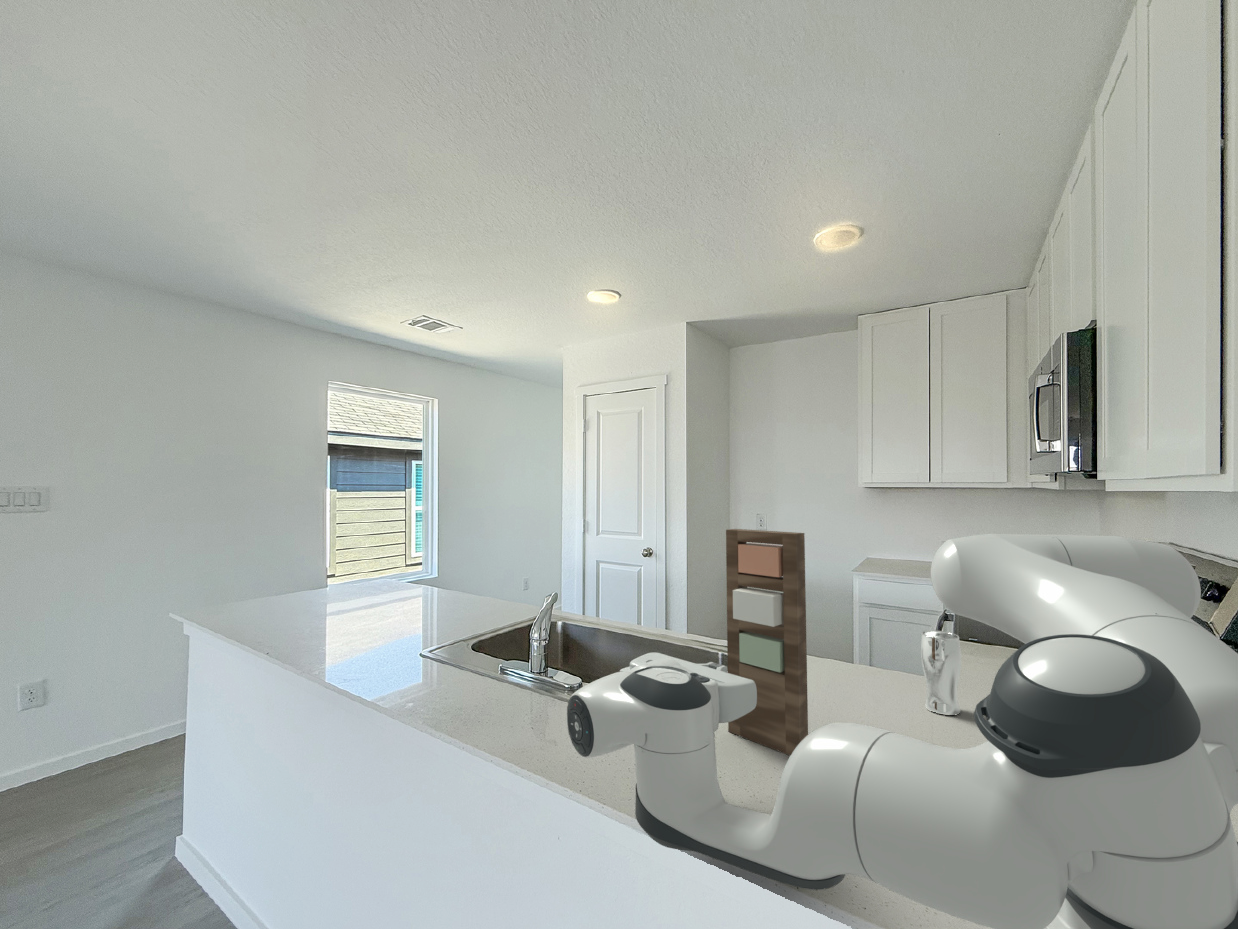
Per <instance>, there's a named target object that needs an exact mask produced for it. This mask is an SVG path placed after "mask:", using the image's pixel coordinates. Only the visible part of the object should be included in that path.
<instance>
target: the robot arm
mask: <svg viewBox="0 0 1238 929" xmlns="http://www.w3.org/2000/svg"><path fill="white" fill-rule="evenodd" d="M930 580H931V585H932V588H933V590H934V593H935V594H936V596H937V598H938V599H939V601H940V603H941V604H942V605H943V606H944V607H945V608H946V609H947V610H949V612H950V613H951V614H954V615H957V616H961V617H964V618H967V619H969V620H973V621H977V622H980V623H982V624H984V625H987V626H989V627H992V628H994V629H997V630H999V631H1000V632H1003V633H1005V634H1007V635H1009V636H1010V637H1013V638H1014V639H1016V640H1018V641H1019V642H1021V643H1024V644H1023V645H1021V646H1020V647H1019V648H1018V649H1017V650H1015V651H1014V652H1013V653H1012V654H1011V655H1010V656H1009V657H1008V658H1007V659H1005V661H1004V662H1003V663H1002V664H1001V665H1000V668H999V669H998V670H997V672H996V674H995V676H994V679H993V683H992V686H991V688H990V689H991V690H990V692H989V694H988V695H987V696H986V697H984V698H983V699H982V700H980V701H979V702H978V703H977V704H976V706H975V708H974V713H973V718H974V721H975V724H976V727H977V728H978V730H979V732H980V733H981V734H982V735H983V737H984V738H985V739H986V741H985V742H983V743H981V744H978V745H975V746H972V747H968V748H965V747H964V748H955V747H949V746H943V745H937V744H934V743H931V742H927V741H924V740H923V739H922V740H921V739H918V738H915V737H911V736H909V735H905V734H903V733H899V732H894V731H891V730H887V729H883V728H880V727H875V726H871V725H868V724H867V725H866V724H862V723H855V722H846V721H845V722H844V721H843V722H842V721H841V722H840V721H839V722H838V721H836V722H830V723H827V724H825V725H822V726H819V727H818V728H817V727H816V728H815V729H814V730H813V731H811V732H810V733H809V732H808V735H807V736H806V737H805V738H804V739H803V740H802V741H801V742H800V743H799V744H798V745H797V747H796V748H795V749H794V751H793V752H792V754H791V756H790V755H789V758H788V759H787V761H786V763H785V766H784V768H783V770H782V773H781V776H780V780H779V784H778V790H777V793H776V799H775V802H774V807H773V810H772V812H771V814H769V813H765V812H760V811H757V810H753V809H749V808H746V807H740V806H737V805H733V804H729V803H728V802H727V801H726V799H725V797H724V795H723V793H722V790H721V786H720V783H719V779H718V778H719V777H718V769H717V768H718V766H717V756H716V755H717V754H716V743H715V738H716V737H715V732H717V731H718V729H719V724H728V722H731V721H734V720H736V719H738V718H740V717H742V716H744V715H746V714H747V713H749V712H751V711H752V710H754V709H755V707H756V704H757V688H756V684H755V682H754V681H753V680H751V679H747V678H744V677H740V676H737V675H733V674H730V673H728V665H724V664H721V663H720V664H719V663H716V662H713V661H709V662H707V663H695V662H691V661H689V660H685V659H681V658H678V657H673V656H670V655H668V654H663V653H661V652H648V653H645V654H642V655H640V656H638V657H636V658H634V659H632V660H631V661H629V666H626V667H624V668H621V669H620V670H619V671H616V672H614V673H611V674H608V675H606V676H603V677H600V678H599V679H595V680H593V681H592V682H590V683H588V684H585V685H584V686H582V687H580V688H578V690H576V691H575V692H574V693H573V694H571V696H570V698H569V700H568V701H567V706H566V722H567V723H566V724H567V732H568V736H569V738H570V742H571V744H572V746H573V747H574V749H575V751H576V752H577V753H578V755H579V756H581V757H583V758H588V759H590V758H596V757H601V756H603V755H608V754H611V753H613V752H616V751H619V750H621V749H622V750H623V749H624V748H627V747H630V746H631V745H633V748H634V749H633V750H634V766H635V779H636V780H635V781H636V782H635V802H634V803H635V810H634V811H635V813H634V814H635V820H636V821H637V823H638V825H639V826H640V828H641V829H642V830H643V831H644V833H645V834H647V835H648V837H650V838H651V839H652V840H653V841H655V842H656V843H657V844H659V845H660V846H663V847H665V848H669V849H673V850H678V851H679V850H680V851H687V852H693V853H698V854H701V855H704V856H706V857H710V858H713V859H714V860H717V861H719V862H723V863H725V864H727V865H731V866H734V867H737V868H738V869H739V868H740V869H742V870H744V871H747V872H750V873H753V874H756V875H758V876H761V877H764V878H766V879H768V880H769V879H770V880H772V881H776V882H778V883H782V884H783V885H784V884H786V885H788V886H793V887H795V888H801V889H807V890H813V891H814V890H817V891H818V890H826V889H830V888H834V887H835V886H837V885H838V884H840V883H841V882H842V881H843V880H844V879H845V876H846V875H851V876H857V877H860V878H863V879H866V880H869V881H870V882H873V883H875V884H878V885H879V886H881V887H884V888H885V889H887V890H889V891H892V892H893V893H896V894H898V895H900V896H902V897H904V898H906V899H909V900H911V901H914V902H916V903H918V904H921V905H923V906H926V907H928V908H931V909H933V910H936V911H939V912H941V913H944V914H947V915H950V916H952V917H956V918H957V919H958V918H959V919H960V920H964V921H968V922H970V923H972V924H973V923H974V924H977V925H981V926H984V927H988V928H991V929H1238V840H1237V836H1236V832H1235V830H1234V826H1233V822H1232V818H1231V812H1232V809H1233V808H1234V807H1235V806H1236V805H1238V652H1236V651H1235V650H1234V649H1233V648H1231V647H1230V646H1229V645H1228V644H1226V643H1225V642H1224V641H1222V640H1221V639H1220V638H1218V637H1217V636H1216V635H1214V634H1213V633H1212V632H1211V631H1209V630H1208V629H1207V628H1204V627H1203V626H1202V625H1201V624H1199V623H1198V622H1196V621H1195V620H1193V619H1192V617H1193V616H1194V615H1195V613H1196V611H1197V610H1198V607H1199V605H1200V602H1201V598H1202V592H1201V591H1202V589H1201V583H1200V579H1199V576H1198V575H1197V573H1196V571H1195V568H1194V567H1193V565H1192V564H1191V563H1190V561H1188V559H1187V558H1186V557H1185V556H1184V555H1183V554H1181V553H1180V551H1178V550H1177V549H1176V548H1174V547H1172V546H1170V545H1169V544H1165V543H1160V542H1159V543H1158V542H1155V541H1149V540H1143V539H1139V538H1133V537H1132V538H1131V537H1127V536H1120V535H1098V534H1097V535H1096V534H1093V535H1092V534H1091V535H1089V534H1032V533H1029V534H1026V533H994V532H993V533H990V532H989V533H981V534H973V535H967V536H962V537H961V536H960V537H955V538H950V539H949V538H948V539H947V540H946V541H944V542H943V543H942V545H940V546H939V547H938V549H937V550H936V552H935V554H934V555H933V558H932V560H931V565H930ZM984 716H985V717H984Z"/></svg>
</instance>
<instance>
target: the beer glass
mask: <svg viewBox="0 0 1238 929" xmlns="http://www.w3.org/2000/svg"><path fill="white" fill-rule="evenodd" d="M920 642H921V643H920V657H921V658H920V659H921V665H922V666H921V667H922V670H923V675H924V680H925V684H926V697H925V703H924V707H926V708H927V709H928V710H927V709H926V708H925V709H926V710H927V711H929V712H931V711H933V712H936V713H941V714H949V715H955V714H959V713H960V714H961V709H960V704H959V699H958V687H959V683H960V682H959V681H960V676H961V671H962V670H961V669H962V650H961V644H960V643H961V642H960V636H959V634H956V633H953V632H949V631H944V630H943V631H942V630H936V629H933V630H932V629H930V630H923V631H921V640H920ZM933 712H932V713H933ZM936 713H935V714H936ZM960 714H959V715H960Z"/></svg>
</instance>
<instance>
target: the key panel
mask: <svg viewBox="0 0 1238 929" xmlns="http://www.w3.org/2000/svg"><path fill="white" fill-rule="evenodd" d="M805 539H806V538H805V532H796V531H795V532H792V531H776V530H762V529H761V530H759V529H747V528H746V529H743V528H730V529H729V528H728V529H727V528H726V529H725V542H726V543H725V547H726V549H725V552H726V553H725V555H726V556H725V558H726V559H725V561H726V562H725V563H726V564H725V565H726V570H725V571H726V635H727V637H726V638H727V639H726V640H727V643H726V645H727V646H726V647H727V648H726V649H727V652H726V654H727V655H726V656H727V673H730V674H733V675H737V676H740V677H744V678H747V679H751V680H753V681H754V682H755V684H756V688H757V704H756V707H755V709H754V710H752V711H751V712H749V713H747V714H746V715H744V716H742V717H740V718H738V719H736V720H734V721H731V722H727V725H728V727H727V730H728V731H727V732H729V733H731V734H734V735H737V736H739V737H741V738H744V739H747V740H749V741H752V742H754V743H757V744H759V745H762V746H764V747H767V748H769V749H772V750H775V751H777V752H780V753H783V754H785V755H788V756H789V757H790V756H791V754H792V752H793V751H794V749H795V748H796V747H797V745H798V744H799V743H800V742H801V741H802V740H803V739H804V738H805V737H806V736H807V735H808V734H809V712H808V710H809V709H808V706H809V704H808V658H807V656H808V654H807V647H808V646H807V613H806V612H807V604H806V602H807V600H806V598H807V595H806V590H807V589H806V550H805V549H806V546H805V544H806V543H805V542H806V541H805ZM746 543H757V544H770V545H782V546H783V576H782V577H772V576H764V575H756V574H749V573H741V572H738V544H746ZM744 587H746V588H753V589H759V590H766V591H773V592H779V593H783V602H784V623H783V624H780V625H777V626H775V627H772V626H767V625H762V624H757V623H752V622H748V621H743V620H738V619H733V590H736V589H740V588H744ZM745 631H747V632H752V633H756V634H761V635H766V636H770V637H775V638H779V639H784V663H785V671H782V672H776V671H772V670H769V669H765V668H761V667H758V666H754V665H750V664H746V663H743V662H740V656H739V633H742V632H745Z"/></svg>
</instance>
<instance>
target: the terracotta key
mask: <svg viewBox="0 0 1238 929" xmlns="http://www.w3.org/2000/svg"><path fill="white" fill-rule="evenodd" d="M738 572H741V573H749V574H756V575H764V576H772V577H783V545H777V544H765V543H752V542H747V543H746V544H738Z"/></svg>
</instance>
